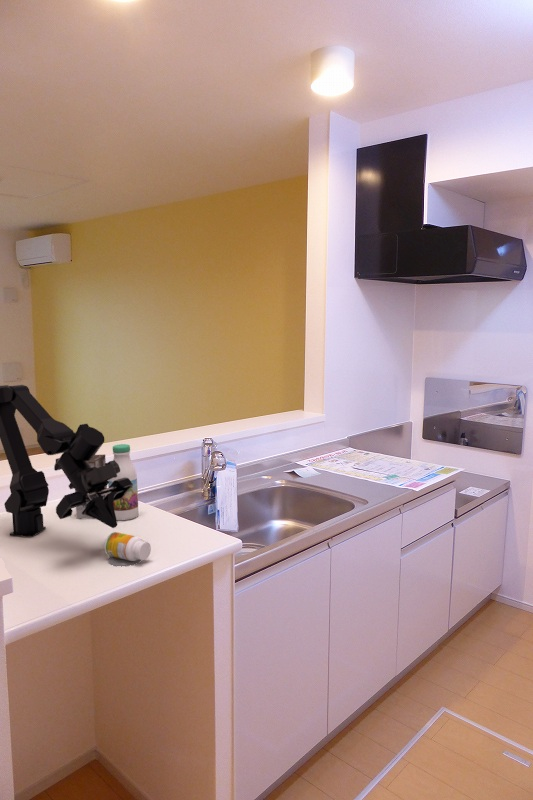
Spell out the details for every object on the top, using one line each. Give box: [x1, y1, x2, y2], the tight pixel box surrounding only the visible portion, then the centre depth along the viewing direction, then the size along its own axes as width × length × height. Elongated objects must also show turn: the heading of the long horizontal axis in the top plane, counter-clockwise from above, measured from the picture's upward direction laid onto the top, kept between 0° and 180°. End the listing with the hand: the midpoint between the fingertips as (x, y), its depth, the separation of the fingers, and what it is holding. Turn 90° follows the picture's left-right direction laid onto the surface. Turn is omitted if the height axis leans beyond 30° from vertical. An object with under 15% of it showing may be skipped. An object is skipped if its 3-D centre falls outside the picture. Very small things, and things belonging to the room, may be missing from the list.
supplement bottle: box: [104, 531, 152, 561], centre depth 131 cm, size 5×5×10 cm
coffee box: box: [74, 454, 108, 519], centre depth 164 cm, size 9×6×16 cm
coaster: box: [107, 556, 142, 568], centre depth 132 cm, size 8×8×1 cm
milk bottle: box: [107, 443, 139, 521], centre depth 161 cm, size 8×8×20 cm
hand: (115, 526), depth 132 cm, fingers closed
